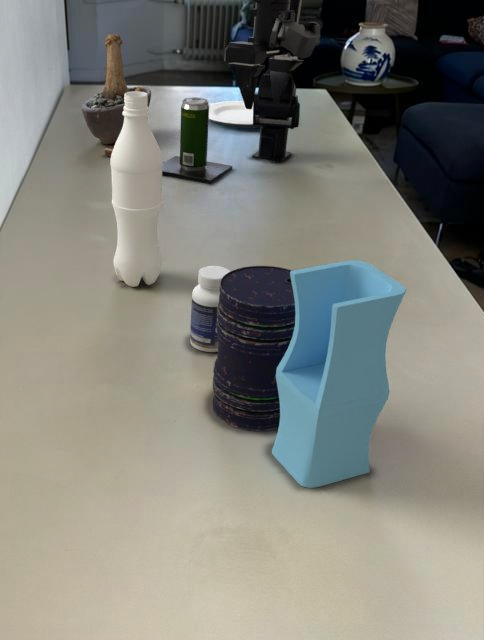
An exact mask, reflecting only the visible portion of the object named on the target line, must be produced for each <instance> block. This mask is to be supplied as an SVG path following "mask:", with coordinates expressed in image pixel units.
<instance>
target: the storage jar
mask: <svg viewBox="0 0 484 640" xmlns="http://www.w3.org/2000/svg"><path fill="white" fill-rule="evenodd" d="M290 271H293V269H289V268H284V267H280V266H273V265H250V266H243V267H239V268H235V269H233V270H230V272H228V273H227V274H225V275H224V276H223V277H222V279H221V281H220V295H219V303H218V307H217V323H216V328H217V335H218V337H219V341H218V352H217V357H216V359H215V361H214V365H213V370H212V373H213V376H212V390H213V391H212V395H213V397H212V403H211V404H212V411H213V412H214V415H215V416H216V417H217V418H218V419H219V420H220V421H222V422H223V423H225V424H226V425H229V426H231V427H234V428H237V429H240V430H245V431H251V432H252V431H254V432H260V431H261V432H263V431H264V432H265V431H271V430H276V429H279V422H280V401H279V393H278V387H277V381H276V370H277V367H278V365H279V364H280V362H281V360H282V358H283V357H284V355H285V353H286V351H287V349H288V347H289V344H290V342H291V339H292V336H293V332H294V328H295V315H296V312H295V299H294V293H293V287H292V282H291V276H290Z"/></svg>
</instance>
